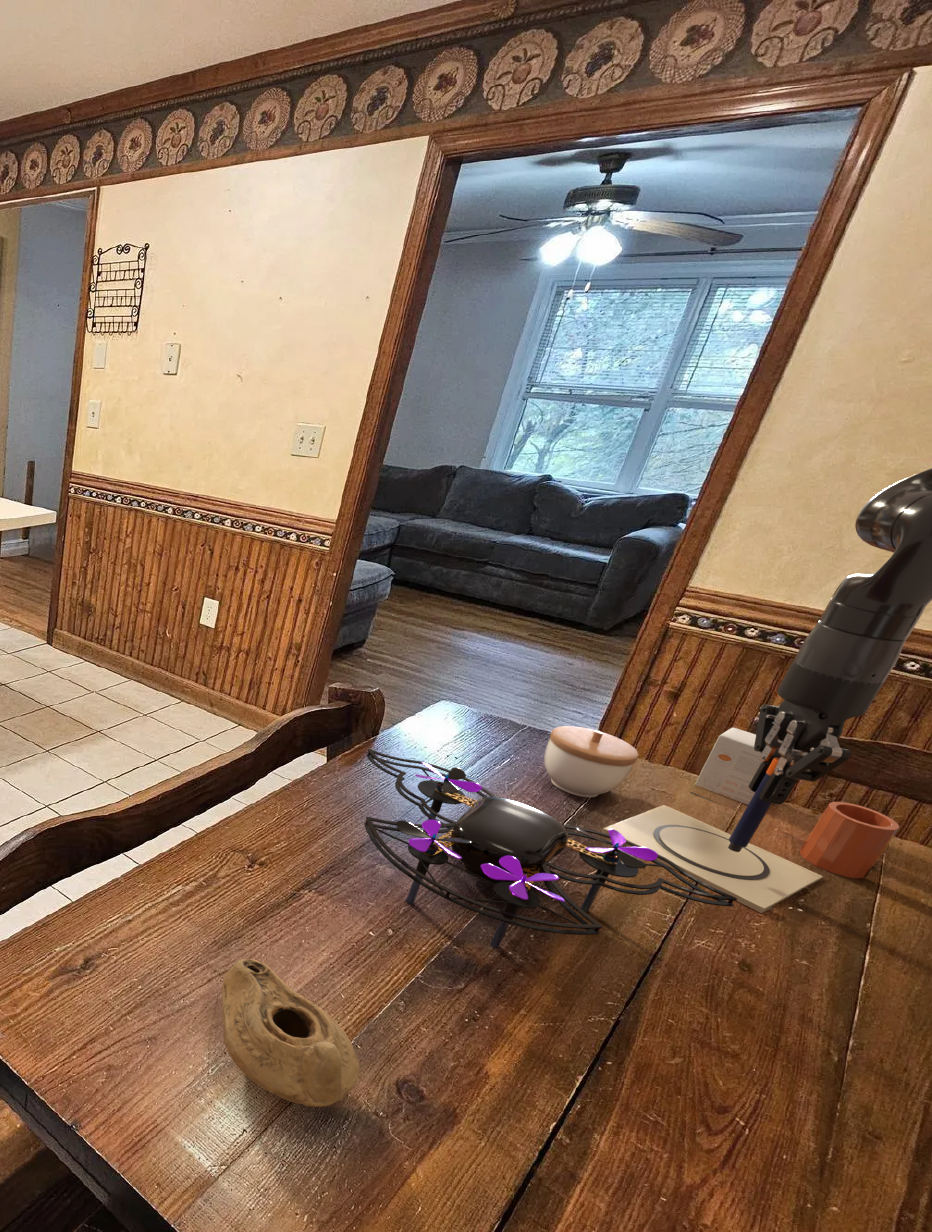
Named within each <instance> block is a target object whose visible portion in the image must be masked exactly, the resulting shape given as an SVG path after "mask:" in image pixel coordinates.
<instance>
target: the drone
mask: <svg viewBox="0 0 932 1232" xmlns="http://www.w3.org/2000/svg"><path fill="white" fill-rule="evenodd" d="M367 751H368V752H367V753H366V755H365V756H366V757H367V759H368V760H369V761H370V763H372V765H374V766H375V767H376V768H378V769H379V770H381V771H383V772H384V773H386V774H388V775H390V776H391V777H394V778H396V780H395V783H394V786H395V790H396V791H397V792H398V793H399V795H400V796H401V797H403V799H405V800H407V801H408V802H410V803H411V804H413V805H415V806H417V807H418V808H419V810H420V811H421V813H422V814H423V815H424V816H425V817H427V820H424V821H423V822H421V823H412V822H409V821H407V820H403V819H401V820H396V821H392V820H388V819H387V820H386V819H381V818H376V817H371V816H366V817H365V820H366V821H365V822H364V827H365V830H366V833H367V835H368V837H369V839H370V841H371V842H372V844H373V845H374V846H375V848H376V849H377V850H378V851H379V852H380V854H382V855H383V857H384V858H385V859H386V860H387V861H388V862H390V863H391V864H392V865H393V866H394V867H396V869H398V870H399V871H400V872H401V873H403V874H404V875H406V877H408V878H410V879H411V880H412V882H411V885H410V888H409V890H408V894H407V897H406V899H405V902H406V903H408V904H410V905H414V903H415V901H416V898H417V896H418V893H419V890H420V888H421V886H422V887H423V888H425V889H426V890H429V891H430V892H432V893H434V894H436V895H438V896H439V897H441V898H443V899H445V900H447V901H449V902H451V903H453V904H456V905H457V906H460V907H462V908H464V909H467V910H470V911H472V912H474V913H477V914H480V915H482V916H485V917H488V918H491V919H494V920H497V921H499V923H498V925H497V927H496V930H495V931H494V933H493V936H492V938H491V941H490V943H489V945H490V946H491V947H492V948H493V949H499V948H500V946H501V944H502V941H503V939H504V936H505V934H506V932H507V930H508V928H509V926H510V924H511V925H514V926H517V927H521V928H525V929H530V930H536V931H540V932H545V933H552V934H560V935H570V936H571V935H574V936H593V935H594V936H595V935H600V929H603V924H600V923H599V921H597V920H595V919H594V918H593V917H591V916H590V914H587V913H589V912H590V910H591V907H592V905H593V904H594V902H595V899H596V898H597V895H598V893H599V891H600V890H601V887H602V888H606V889H609V890H611V891H615V892H618V893H622V894H623V893H624V894H628V895H634V896H635V895H636V896H649V895H653V894H656V893H657V892H659V890H662V891H664V892H667V893H670V894H672V895H674V896H678V897H681V898H684V899H687V900H690V901H694V902H697V903H702V904H706V905H711V906H721V907H734V901H736V900H737V898H735V897H733V896H731V895H728V894H726V893H724V892H721V891H719V890H717V889H715V888H713V887H711V886H709V885H707V884H705V883H703V882H701V881H700V880H698V879H696V878H695V877H693V876H691V875H690V874H688V873H687V872H685V871H684V870H683V869H681V868H680V867H679V866H677V865H676V864H675V863H673V862H672V861H670V860H668V859H667V858H665V857H663V856H661V855H659V854H658V853H656V852H655V851H654V850H652V849H649V848H645V847H641V846H639V845H636V844H634V843H631V842H629V841H626V839H625V838H624V836H623V835H622V834H621V833H619V832H618V831H616V830H614V829H609V830H608V832H609V835H608V834H605V833H602V831H597V830H593V829H589V828H585V827H580V826H575V825H568V824H562V822H561V821H559V820H557V819H556V818H554V817H553V816H552V815H549V814H548V813H546V812H544V811H542V810H540V809H538V808H535V807H533V806H532V805H528V804H525V803H523V802H521V801H516V800H514V799H511V798H506V797H500V796H496V795H495V794H494V793H492V792H491V791H490V790H488V789H487V788H486V787H484V786H483V785H482V784H481V785H480V784H479V783H477V782H475V781H474V780H472V779H470V778H468V777H467V774H466V772H465V771H464V770H463V769H462V768H460V767H455V766H454V767H452V768H451V769H448V768H444V767H442V766H439V765H436V764H432V763H429V762H425V761H423V760H422V761H421V760H414V759H408V758H401V757H396V756H393V755H389V754H385V753H382V752H379V751H376V750H373V749H371V748H367ZM378 756H380V757H381V758H380V757H378ZM382 757H383V758H382ZM385 758H387V759H390V760H387V759H385ZM391 760H394V761H391ZM395 761H399V762H395ZM400 762H405V763H411V764H405V763H400ZM379 763H380V764H381V765H380V764H379ZM413 764H417V765H413ZM392 765H393V766H392ZM394 766H398V767H403V768H408V769H409V768H410V769H416V770H417V769H418V770H421V771H422V772H423V773H424V774H425V775H422V774H414V776H415V777H417V778H421V779H427V780H423V781H420V782H419V783H418V784H417V789H418V791H419V792H420V794H422V795H423V796H425V797H427V798H429V799H427V800H426V799H425V798H423V797H420V796H418V795H417V794H415V793H413V792H412V791H410V790H409V789H408V788H407V787H406V786H405V785H404V783H403V781H404V780H405V778H406V777H404V776H406V775H407V772H406V771H404V770H401V769H399V768H396V767H394ZM385 767H386V768H387V769H386V768H385ZM389 769H390V770H391V771H390V770H389ZM439 770H440V771H443V772H445V773H447V774H445V773H443V772H440V771H439ZM394 772H396V773H394ZM427 772H429V773H431V774H436V775H437V776H439V777H440V778H439V777H434V776H430V774H428V773H427ZM397 773H398V774H397ZM441 780H443V781H441ZM459 788H460V789H462V790H463V791H466V792H468V793H476V794H477V795H479V796H480V797H481V798H479V799H473V798H471V797H468V796H466V795H465V793H464V792H463V791H461V790H460V789H459ZM408 795H409V796H408ZM411 797H412V798H411ZM413 798H414V799H416V800H418V801H416V800H414V799H413ZM419 801H420V802H419ZM431 801H432V803H431V806H430V805H428V803H429V802H431ZM443 804H447V805H461V804H464V805H466V806H468V807H470V809H468V810H467V811H466V812H464V813H463V814H462V815H461V816H460V817H459V818H458V819H457V820H456V821H455V820H452V819H450V818H447V817H445V816H443V815H441V814H440V811H441V808H442V806H443ZM437 818H438V819H437ZM439 819H440V820H442V821H444V822H442V821H440V820H439ZM373 822H376V823H380V824H376V823H373ZM445 822H446V823H445ZM381 824H385V825H381ZM387 825H391V826H387ZM393 826H396V827H393ZM567 829H568V830H567ZM383 830H387V831H391V832H397V833H399V832H400V833H402V834H404V835H406V836H411V838H410V839H408V842H407V841H405V840H403V839H401V838H398V837H397V836H394V835H392V834H390V833H388V832H385V831H383ZM569 830H574V831H569ZM575 830H576V831H578V832H576V831H575ZM378 832H379V833H381V834H384V835H385V836H388V837H389V838H392V839H394V840H396V841H397V842H401V843H402V844H405V845H407V850H408V852H409V854H411V856H412V857H414V858H416V859H417V860H418V863H417V865H416V868H414V867H413V866H411V865H410V864H409V863H408V862H406V861H405V860H404V859H402V857H400V856H399V855H398V854H396V853H395V851H394V850H392V849H391V848H390V846H388V845H387V844H386V842H385V841H384V840H383V838H382V837H381V836H380V835H379V833H378ZM438 834H443V835H441V836H440V837H438V838H437V835H438ZM593 834H594V835H593ZM595 835H597V836H601V837H605V838H608V839H610V840H608V839H604V838H601V837H597V836H595ZM569 836H575V837H580V838H585V839H589V840H594V841H597V842H600V843H602V844H604V845H606V846H608V847H598V846H587V845H584V844H582V843H580V842H578V841H576V840H573V839H572V838H569ZM415 837H416V838H415ZM624 843H625V844H628V845H630V846H633V847H629V846H626V845H625V844H624ZM450 848H451V849H450ZM565 848H568V849H570V850H573V851H576V852H578V855H579V857H580V858H581V859H582V861H583V862H584V863H585V864H587V865H589V866H590V867H592V868H593V869H595V870H596V872H595V874H586V873H579V872H575V871H571V870H568V869H566V868H562V867H560V866H557V865H555V864H553V863H551V861H552V860H553V858H555V857H556V856H558V855H560V854H561V853H562V852H563V851H564V850H565ZM449 856H451V857H453V858H455V859H458V860H459V861H460V862H462V865H463V867H461V866H459V865H456V864H454V863H452V862H449V859H450V857H449ZM657 858H659V859H661V860H663V861H665V862H667V863H668V864H670V865H671V866H672V867H674V868H675V869H676V870H678V871H679V873H678V871H676V870H674V869H672V868H670V867H668V866H666V865H664V864H663V863H661V862H659V861H657V860H656V859H657ZM645 861H647V862H652V863H645ZM445 864H447V865H449V866H452V867H454V868H455V869H457V870H459V871H462V872H464V873H466V874H468V875H471V876H473V877H474V878H477V879H479V880H481V881H483V882H485V883H487V884H490V885H492V886H494V888H493V889H494V892H495V894H496V895H497V896H498V897H499V898H500V899H502V900H503V901H501V900H489V899H478V898H470V897H467V896H466V895H463V894H460V893H458V892H457V891H454V890H453V889H450V888H448V887H446V886H444V885H443V884H440V883H438V881H437V880H436V879H435V877H434V876H433V875H432V873H431V872H430V870H429V867H430V865H433V866H434V865H435V866H441V865H445ZM401 865H402V866H401ZM403 866H404V867H403ZM646 867H657V868H663V869H664V870H666V871H667V872H669V873H670V874H671V875H672V876H674V877H675V878H676V879H678V880H679V881H680V882H682V883H683V884H685V885H687V886H688V887H685V886H682V885H679V884H676V883H674V882H671V881H669V880H666V879H664V878H662V877H658V878H657V880H656V881H655V882H653V883H648V884H634V883H628V882H623V881H619V880H616V879H613V878H609V875H610V876H614V877H617V878H618V877H619V878H623V879H628V878H629V879H630V878H631V879H632V878H634V877H635V878H636V877H637V876H638V874H639V873H640V872H639V869H646ZM405 868H406V869H405ZM549 868H551V869H553V870H556V871H558V872H555V871H553V870H551V869H549ZM408 870H409V871H408ZM410 871H411V872H412V873H413V874H412V873H411V872H410ZM559 872H561V873H563V874H567V875H570V876H573V877H577V878H573V877H570V876H566V875H563V874H561V873H559ZM427 874H428V875H429V877H428V876H426V875H427ZM682 875H683V876H685V877H686V878H688V879H689V880H690V881H689V880H687V879H685V878H684V877H683V876H682ZM579 878H581V879H579ZM559 879H561V880H565V881H568V882H572V883H576V884H580V885H588V886H589V885H591V886H590V888H589V889H588V892H587V894H586V896H585V898H584V900H583V901H582V905H581V906H579V905H577V904H576V903H575V902H574V901H573V900H572V899H571V898H570V897H569V896H568V895H567V894H566V892H565V891H564V890H563V889H562V888H561V886H560V885H559V884H558V882H557V880H559ZM585 879H586V880H585ZM587 879H589V880H587ZM423 880H424V881H426V882H427V883H426V882H424V881H423ZM691 881H692V882H691ZM534 882H543V884H544V885H545V887H546V888H547V890H546V889H544V888H542V887H539V886H537V885H534V884H533V883H534ZM606 882H609V883H611V884H614V885H617V886H614V885H610V884H608V883H606ZM693 882H694V883H696V884H698V885H700V886H701V887H703V888H705V889H707V890H708V891H711V892H713V893H714V894H713V893H712V894H711V893H710V892H708V891H706V890H705V889H702V888H700V887H698V886H697V885H695V884H693ZM429 884H431V885H432V886H431V885H429ZM663 884H665V885H667V886H670V887H671V888H675V889H678V890H681V891H684V892H686V893H690V894H693V895H697V896H700V897H696V896H693V895H690V894H689V895H688V894H686V893H682V892H680V891H676V890H674V889H671V888H669V887H667V886H664V885H663ZM433 886H434V887H433ZM618 886H621V887H625V888H629V889H625V888H621V887H618ZM435 887H436V888H437V889H436V888H435ZM531 887H532V888H534V889H536V890H538V891H539V892H541V893H543V894H545V895H547V896H549V897H550V898H553V899H555V900H556V901H557V902H558V903H559V904H560V905H561V906H562V908H563V909H565V910H566V911H567V912H568V914H570V915H571V916H572V917H573V918H574V919H575V920H577V921H578V922H579V923H578V922H576V921H574V920H572V919H570V918H568V917H567V916H563V915H561V914H559V913H558V912H556V911H554V910H551V909H549V908H547V907H546V906H543V905H541V899H540V898H539V896H538V895H537V894H536V893H535V892H534V891H532V890H531ZM689 887H690V888H689ZM634 889H636V890H634ZM637 889H638V890H637ZM715 893H716V894H715ZM701 897H703V898H701ZM704 897H705V898H709V899H705V898H704ZM710 899H712V900H710ZM462 901H464V902H467V903H469V904H467V903H464V902H462ZM736 902H737V901H736ZM485 903H492V904H493V903H494V904H503V905H504V904H505V905H504V907H503V909H500V908H497V907H494V906H492V905H491V906H490V905H487V904H485ZM567 903H568V904H569V905H568V904H567ZM470 904H472V905H470ZM473 905H475V906H477V907H475V906H473ZM478 907H480V908H482V909H484V910H482V909H480V908H478ZM519 908H523V909H526V910H527V909H528V910H529V909H531V910H533V909H536V908H540V909H541V910H544V911H546V912H548V913H550V914H553V915H554V916H556V917H559V918H561V919H563V920H565V921H567V922H568V923H567V922H557V921H549V920H544V919H539V918H533V917H529V916H524V915H521V914H517V912H518V910H519ZM485 910H488V911H491V912H493V913H491V912H487V911H485ZM494 913H497V914H499V915H497V914H494ZM579 914H580V915H579ZM500 915H501V916H500ZM581 916H582V917H583V918H582V917H581ZM514 919H515V920H514ZM516 919H517V920H520V921H517V920H516ZM586 920H587V921H588V922H589V923H588V922H587V921H586ZM523 921H525V922H526V923H525V922H523ZM527 922H529V923H527ZM531 923H533V924H531ZM535 924H539V925H535ZM540 925H543V926H540ZM547 926H548V927H547ZM555 927H556V928H555ZM563 928H564V929H563Z"/></svg>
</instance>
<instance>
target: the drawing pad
mask: <svg viewBox="0 0 932 1232" xmlns="http://www.w3.org/2000/svg"><path fill="white" fill-rule="evenodd" d="M609 829H614V830H616V831H618V832H619V833H621V834H622V835H623V836H624V838H625V839H626V841H629V842H631V843H634V844H636V845H639V846H641V847H645V848H649V849H652V850H654V851H655V852H656V853H658V854H659V855H661V856H663V857H665V858H667V859H668V860H670V861H672V862H673V863H675V864H676V865H677V866H679V867H680V868H681V869H683V870H684V871H685V872H687V873H688V874H690V875H691V876H693V877H695V878H696V879H698V880H700V881H701V882H703V883H705V884H707V885H709V886H711V887H713V888H715V889H717V890H719V891H721V892H724V893H726V894H728V895H731V896H733V897H735V898H737V900H736V902H738V903H740V904H741V905H744V906H745V907H748V908H750V909H752V910H753V911H756V912H757V913H759V914H763V913H766V912H767V911H769V910H771V909H772V908H773V906H776V905H777V904H779V903H780V902H782V901H784V900H786V899H788V898H790V897H791V896H794V895H795V894H797V893H799V892H801V891H802V890H804V889H806V888H808V887H810V886H812V885H813V884H815V883H817V882H818V881H821V880H822V879H823V878H824V876H823V875H822V874H819V873H817V872H814V871H812V870H810V869H808V868H805V867H803V866H801V865H799V864H797V863H795V862H793V861H790V860H787V859H786V858H783V857H781V856H779V855H778V854H775V853H772V852H770V851H768V850H766V849H763V848H761V847H759V846H757V845H754V844H752V843H750V842H749V844H748V845H747V847H742V849H741V851H740V852H735V851H732V850H730V849H729V848H728V846H729V844H730V843H731V842H729V838H730V836H731V834H730V833H728V832H726V831H723V830H721V829H719V828H717V827H714V826H713V825H710V824H708V823H706V822H704V821H701V820H699V819H697V818H695V817H693V816H690V815H688V814H687V813H683V812H681V811H679V810H677V809H675V808H672V807H670V806H668V805H666V804H663V805H660V806H658V807H655V808H652V809H650V810H647V811H645V812H642V813H639V814H637V815H634V816H631V817H629V818H626V819H623V820H621V821H618V822H616V823H613V824H611V825H608V826H606V827H603V828H602V829H601V833H605V834H608V835H609V832H608V830H609ZM623 845H624V846H626V847H633V846H630V845H628V844H625V843H624V844H623ZM656 860H657V861H659V862H661V863H663V864H664V865H666V866H668V867H669V868H671V869H672V870H673V871H675V872H677V873H678V872H679V871H678V870H676V869H675V868H674V867H672V866H671V865H670V864H668V863H667V862H665V861H663V860H661V859H659V858H657V859H656ZM679 873H680V872H679Z"/></svg>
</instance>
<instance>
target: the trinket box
mask: <svg viewBox="0 0 932 1232" xmlns="http://www.w3.org/2000/svg"><path fill="white" fill-rule="evenodd" d="M639 755H640V754H639V752H638V751H637V749H636V748H635V747H634V746H633V745H632V744H630V743H628V742H626V741H625V740H623V739H621V738H619V737H617V736H614V735H611V734H609V733H607V732H603V731H600V730H596V729H592V728H587V727H581V726H573V725H562V726H557V727H555V728H553V729H552V730H551V733H550V736H549V739H548V742H547V745H546V747H545V752H544V758H543V760H544V761H543V763H544V768H545V771H546V773H547V775H548V777H549V778H550V782H551V783H552V784H553V785H554V786H555V787H556V788H557V789H560V791H561V790H562V791H564V792H566V793H568V794H571V795H574V796H577V797H583V798H596V797H598V796H599V795H602V794H605V793H608V792H611V791H613V790H615V789H616V788H617V787H619V786H620V785H621V784H622V783H623V782H624V781H625V779H626V778H627V777H628V775H629V774H630V773H631V771H632V768H633V766H634V764H635V763H636V762H637V760H638V759H639Z"/></svg>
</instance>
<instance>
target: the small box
mask: <svg viewBox="0 0 932 1232" xmlns="http://www.w3.org/2000/svg"><path fill="white" fill-rule="evenodd" d="M755 739H756V733H752V732H749V731H746V730H742V729H739V728H737V727H730V728H729V729H727V730H726V731H724V732H723V733H721V734H720V735H719V736H718V737H717V739H716V742H715V743H714V746H713V747H712V749H711V751H710V753H709V755H708V757H707V759H706V761H705V763H704V765H703V767H702V769H701V771H700V773H699V775H698V777H697V779H696V781H695V783H694V786H697V787H699V788H702V789H704V790H707V791H710V792H713V793H714V794H715V793H716V794H718V795H721V796H724V797H727V798H729V799H731V800H734V801H737V802H739V803H741V804H745V805H747V806H748V804H749V802H750V801H751V799H752V797H753V795H754V794H755V792H753V791H752V790H751V789H750V788H749V784H750V782H751V781H752V778H753V777H754V775H755V773H756V771H757V770H758V768H759V766H760V764H761V763H762V762H760V760H759V756H760V754H761V753H760V752H758V751H755V750H754V744H755ZM794 761H795V760H793V761H792V762H793V763H794ZM689 792H690V794H692V795H694V796H695V797H696V796H697V797H699V798H702V799H704V800H707V801H709V802H712V803H714V804H718V805H719V803H718V802H715V801H714V800H711V799H709V798H706V797H704V796H702V795H699V794H697V793H694V792H692V791H689ZM721 806H722V807H724V805H722V804H721Z"/></svg>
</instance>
